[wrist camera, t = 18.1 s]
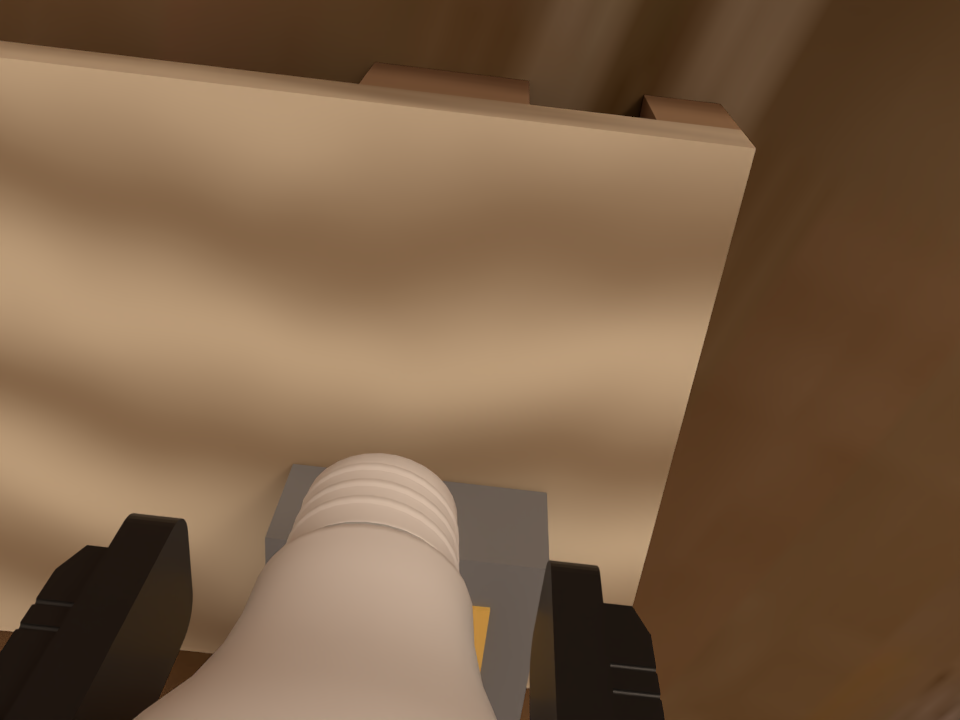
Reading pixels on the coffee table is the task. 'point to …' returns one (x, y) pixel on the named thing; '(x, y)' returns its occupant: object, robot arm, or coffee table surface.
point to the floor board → (339, 302)
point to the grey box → (476, 573)
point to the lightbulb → (351, 612)
